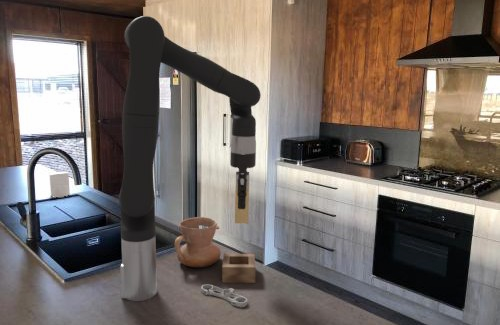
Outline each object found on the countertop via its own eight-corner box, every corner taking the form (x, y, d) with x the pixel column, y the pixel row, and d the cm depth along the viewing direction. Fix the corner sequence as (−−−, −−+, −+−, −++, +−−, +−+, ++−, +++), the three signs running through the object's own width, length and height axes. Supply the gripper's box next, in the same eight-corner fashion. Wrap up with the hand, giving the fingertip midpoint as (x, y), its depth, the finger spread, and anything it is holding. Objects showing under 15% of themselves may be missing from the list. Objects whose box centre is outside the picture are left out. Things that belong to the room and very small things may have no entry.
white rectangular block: (66, 192, 223) (65, 170, 221) (72, 195, 217) (70, 173, 214) (49, 194, 218) (47, 172, 215) (53, 198, 211) (52, 175, 209)
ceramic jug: (206, 249, 149) (205, 211, 146) (232, 261, 139) (231, 221, 136) (163, 264, 137) (161, 223, 134) (188, 278, 127) (186, 235, 124)
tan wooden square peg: (234, 223, 123) (235, 177, 120) (235, 219, 127) (236, 174, 124) (248, 223, 123) (249, 178, 121) (248, 219, 127) (249, 175, 124)
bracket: (229, 308, 107) (198, 285, 119) (229, 314, 108) (198, 291, 119) (251, 299, 112) (220, 278, 124) (251, 305, 113) (220, 284, 124)
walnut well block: (222, 282, 124) (222, 267, 123) (223, 268, 134) (223, 253, 133) (255, 282, 124) (255, 267, 123) (254, 268, 134) (254, 253, 133)
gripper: (231, 146, 128) (230, 199, 131) (229, 154, 114) (228, 213, 117) (255, 147, 128) (253, 200, 131) (256, 154, 114) (254, 214, 117)
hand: (241, 206), depth 124 cm, fingers closed on tan wooden square peg, 4 cm apart
